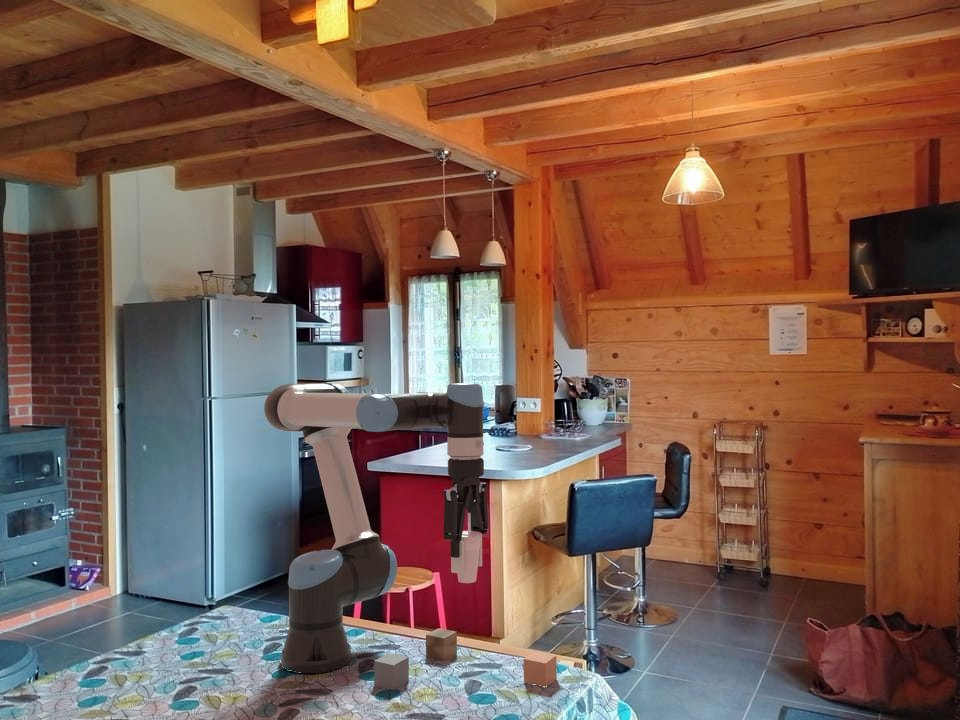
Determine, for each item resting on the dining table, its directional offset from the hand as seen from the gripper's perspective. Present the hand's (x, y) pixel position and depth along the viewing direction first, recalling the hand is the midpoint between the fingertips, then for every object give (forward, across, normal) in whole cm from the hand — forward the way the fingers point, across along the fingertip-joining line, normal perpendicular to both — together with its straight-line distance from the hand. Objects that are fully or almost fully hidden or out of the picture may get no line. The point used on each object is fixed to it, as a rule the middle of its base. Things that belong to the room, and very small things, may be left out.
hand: (467, 568), depth 155 cm
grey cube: (+23, -9, +13) cm, 28 cm away
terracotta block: (+23, +7, -13) cm, 27 cm away
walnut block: (+23, +9, +13) cm, 28 cm away
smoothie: (+3, 0, 0) cm, 3 cm away
